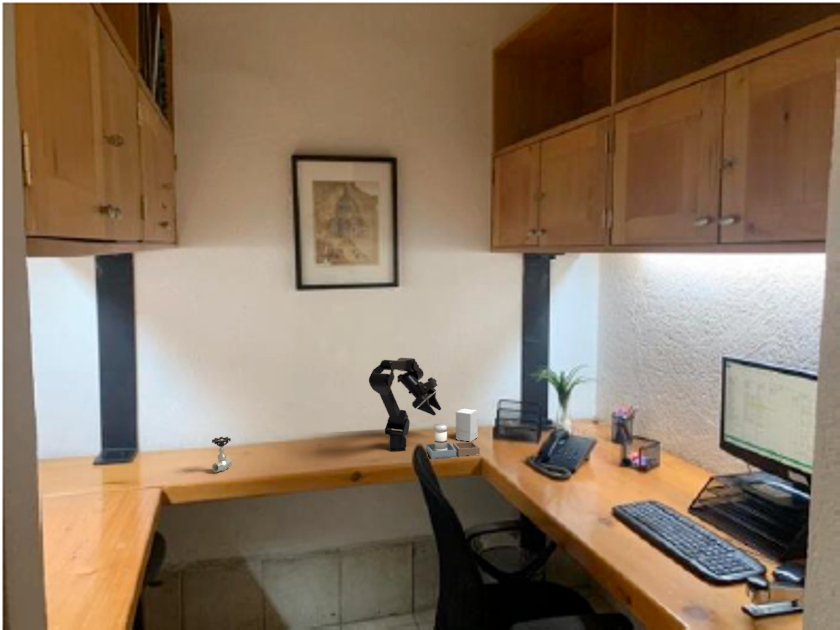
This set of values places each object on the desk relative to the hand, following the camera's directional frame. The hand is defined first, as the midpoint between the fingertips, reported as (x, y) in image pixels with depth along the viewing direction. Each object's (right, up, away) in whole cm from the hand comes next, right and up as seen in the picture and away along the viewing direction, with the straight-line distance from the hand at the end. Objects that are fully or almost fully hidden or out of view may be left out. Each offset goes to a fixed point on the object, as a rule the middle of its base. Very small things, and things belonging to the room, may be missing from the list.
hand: (437, 412), depth 269 cm
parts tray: (+1, -15, -13) cm, 20 cm away
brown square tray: (+11, -15, -11) cm, 21 cm away
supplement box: (+13, -13, +8) cm, 20 cm away
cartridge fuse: (+1, -14, -13) cm, 19 cm away
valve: (-81, -17, -31) cm, 89 cm away
